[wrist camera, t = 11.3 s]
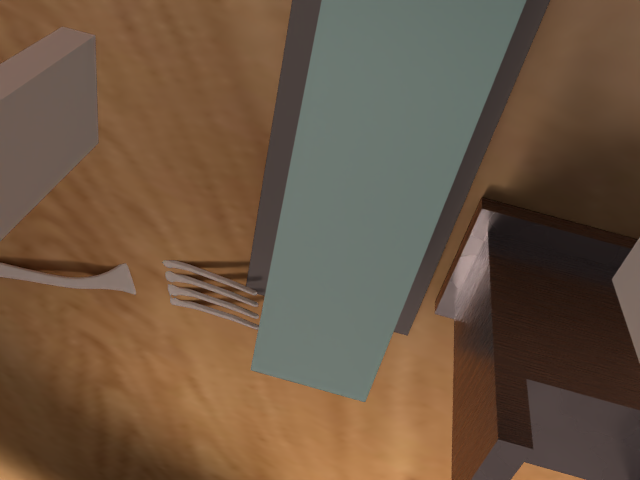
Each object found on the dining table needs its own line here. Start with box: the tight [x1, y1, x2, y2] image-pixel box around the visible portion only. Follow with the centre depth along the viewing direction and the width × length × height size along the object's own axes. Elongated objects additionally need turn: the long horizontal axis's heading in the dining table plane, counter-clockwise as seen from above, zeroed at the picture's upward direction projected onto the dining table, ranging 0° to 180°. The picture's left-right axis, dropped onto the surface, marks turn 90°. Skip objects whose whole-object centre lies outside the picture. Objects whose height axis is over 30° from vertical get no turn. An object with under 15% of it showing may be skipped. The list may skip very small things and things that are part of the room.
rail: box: [251, 0, 526, 402], centre depth 18 cm, size 4×24×6 cm, turn 169°
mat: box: [246, 0, 550, 336], centre depth 21 cm, size 8×28×1 cm, turn 169°
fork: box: [0, 260, 259, 330], centre depth 32 cm, size 3×24×2 cm, turn 92°
